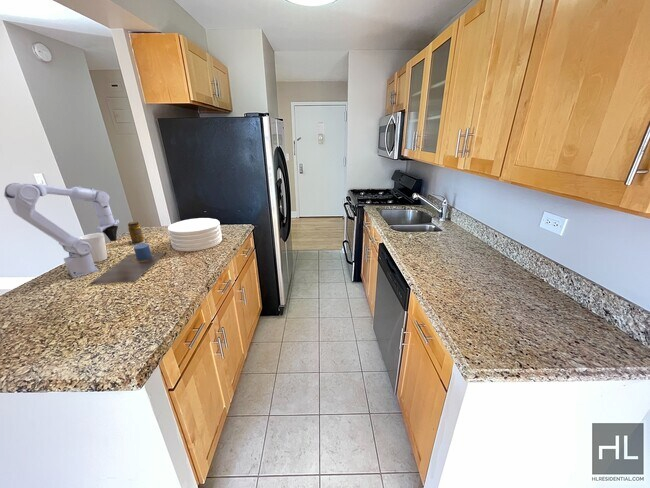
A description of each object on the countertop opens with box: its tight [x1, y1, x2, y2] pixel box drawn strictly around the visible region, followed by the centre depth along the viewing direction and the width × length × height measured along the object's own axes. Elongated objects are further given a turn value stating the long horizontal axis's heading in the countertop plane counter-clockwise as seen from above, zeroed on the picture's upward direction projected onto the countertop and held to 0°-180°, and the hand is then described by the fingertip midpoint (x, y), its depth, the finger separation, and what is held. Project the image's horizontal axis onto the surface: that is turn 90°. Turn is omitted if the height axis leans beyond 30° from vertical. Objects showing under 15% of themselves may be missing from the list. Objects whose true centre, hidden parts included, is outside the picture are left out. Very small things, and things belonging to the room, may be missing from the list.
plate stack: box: [167, 217, 223, 252], centre depth 156 cm, size 28×28×12 cm
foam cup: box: [78, 232, 108, 263], centre depth 133 cm, size 10×9×13 cm
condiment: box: [127, 221, 146, 246], centre depth 157 cm, size 7×8×12 cm
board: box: [89, 252, 167, 285], centre depth 127 cm, size 32×18×1 cm, turn 8°
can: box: [133, 243, 152, 260], centre depth 136 cm, size 7×7×6 cm
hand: (113, 240), depth 132 cm, fingers closed
